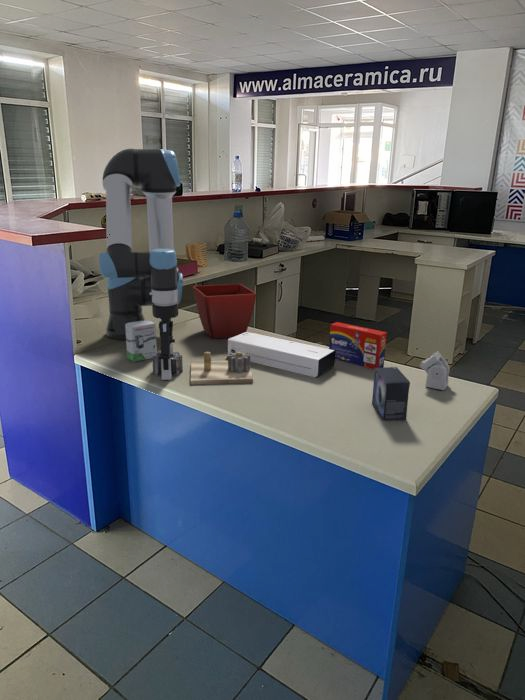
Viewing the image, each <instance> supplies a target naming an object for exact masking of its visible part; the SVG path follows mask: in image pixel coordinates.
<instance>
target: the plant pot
mask: <svg viewBox="0 0 525 700" xmlns="http://www.w3.org/2000/svg"><path fill="white" fill-rule="evenodd" d="M192 287H193V293H194V298H195V299H194V300H195V304H196V308H197V309H196V310H197V313H198V317H199V320H200V323H201V326H202V329H203V330H204V332H205V333H206V334H207V336H209V337H210V338H211V339H223V338H232V337H234V336H237V335H239V334H242V333H244V332H248V331H247V330H248V327H249V325H250V322H251V318H252V315H253V312H254V308H255V304H256V300H257V292H255V291H254V290H252V289H250V288H248V287H246V286H245V285H243V284H241V283H231V284H229V283H228V284H227V283H226V284H205V285H193V286H192Z"/></svg>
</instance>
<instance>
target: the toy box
mask: <svg viewBox="0 0 525 700" xmlns="http://www.w3.org/2000/svg"><path fill="white" fill-rule="evenodd" d="M387 336H388V332H386V331H381V330H376V329H373V328H368V327H362V326H358V325H352V324H349V323H343V322H339V321H336V322H334V323H331V324H330V330H329V348H328V349H331V350H335V351H336V354H335V361H340V362H344V363H347V364H352V365H355V366H360V367H363V368H367V369H371V370H374V371H375V368H385V355H386V347H387V346H386V345H387Z"/></svg>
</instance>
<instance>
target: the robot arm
mask: <svg viewBox="0 0 525 700" xmlns="http://www.w3.org/2000/svg"><path fill="white" fill-rule="evenodd" d="M178 164H179V163H178V159H177V155H176V153H175V152H174V151H173V150H171V149H163V148H160V149H159V148H155V149H153V148H152V149H151V148H148V149H147V148H142V149H141V148H126V149H123V150H121V151H118V152H117V153H116V154H115V155H113V156H112V157H111V158H110V160H108V162H107V164H106V166H105V167H104V170H103V174H102V188H103V189H104V191H105V210H106V211H105V214H106V215H105V220H106V222H105V224H106V225H105V226H106V227H105V228H106V233H105V235H106V236H105V237H106V251H105V252H100V253H99V255H98V257H99V259H98V262H99V263H98V264H99V265H98V266H99V272H100V275H101V277H102V278H105V279H106V278H107V293H108V294H107V295H108V307H109V308H108V309H109V315H108V316H109V317H108V320H107V323H106V324H107V325H106V328H105V333H106V337H108V338H110V339H114V340H126V328H125V324H127V323H130V322H137V321H144V320H146V319H145V317H144V313H143V307H151V308H152V313H151V314H152V316H153V318H156V319H160V320H159V322H158V329H159V337H160V353H161V356H159V359H161V369H162V375H161V380H162V381H163V380H165V381H166V380H172V374H171V358H170V352H172V353H173V352H174V343H176V341H175V340H176V339H174V336H173V329H174V321H173V320H172V319H173V318H174V319H175V318H176V317H178V316H179V304H180V303H181V300H182V296H183V295H182V293H183V284H184V283H183V281H184V280H183V278H184V277H183V273H182V272H179V268H178V260H177V259H178V258H177V253H176V251H175V249H174V248H175V247H174V220H173V196H174V195H175V194H176V193H177V187H180V186H181V179H180V178H181V177H180V171H179V165H178ZM134 186H135V187H141V192H142V193H143V194H144V195H145V197H146V209H147V210H146V211H147V212H146V213H147V214H146V215H147V231H148V234H147V235H148V248H149V249H148V250H149V251H141V252H140V251H139V252H138V251H135V252H134V251H133V238H132V237H133V236H132V235H133V234H132V233H133V232H132V207H131V206H132V205H131V193H132V191H133V189H134ZM109 234H110V235H109ZM107 237H108V238H107ZM163 354H167V355H163Z"/></svg>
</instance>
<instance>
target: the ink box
mask: <svg viewBox="0 0 525 700" xmlns="http://www.w3.org/2000/svg"><path fill="white" fill-rule="evenodd" d="M156 326H157V325H156V323H155V322H153V321H151V320H149V319H145V320H144V321H137V322H130V323H127V324H125V328H126V339H125V343H126V344H125V345H126V359H128V360H129V361H131V362H133V363H136V362H140V361H145V360H146V361H147V360H149V359H152V356H153V355H156V353H158V351H157V350H158V349H157V348H158V347H157V327H156Z"/></svg>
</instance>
